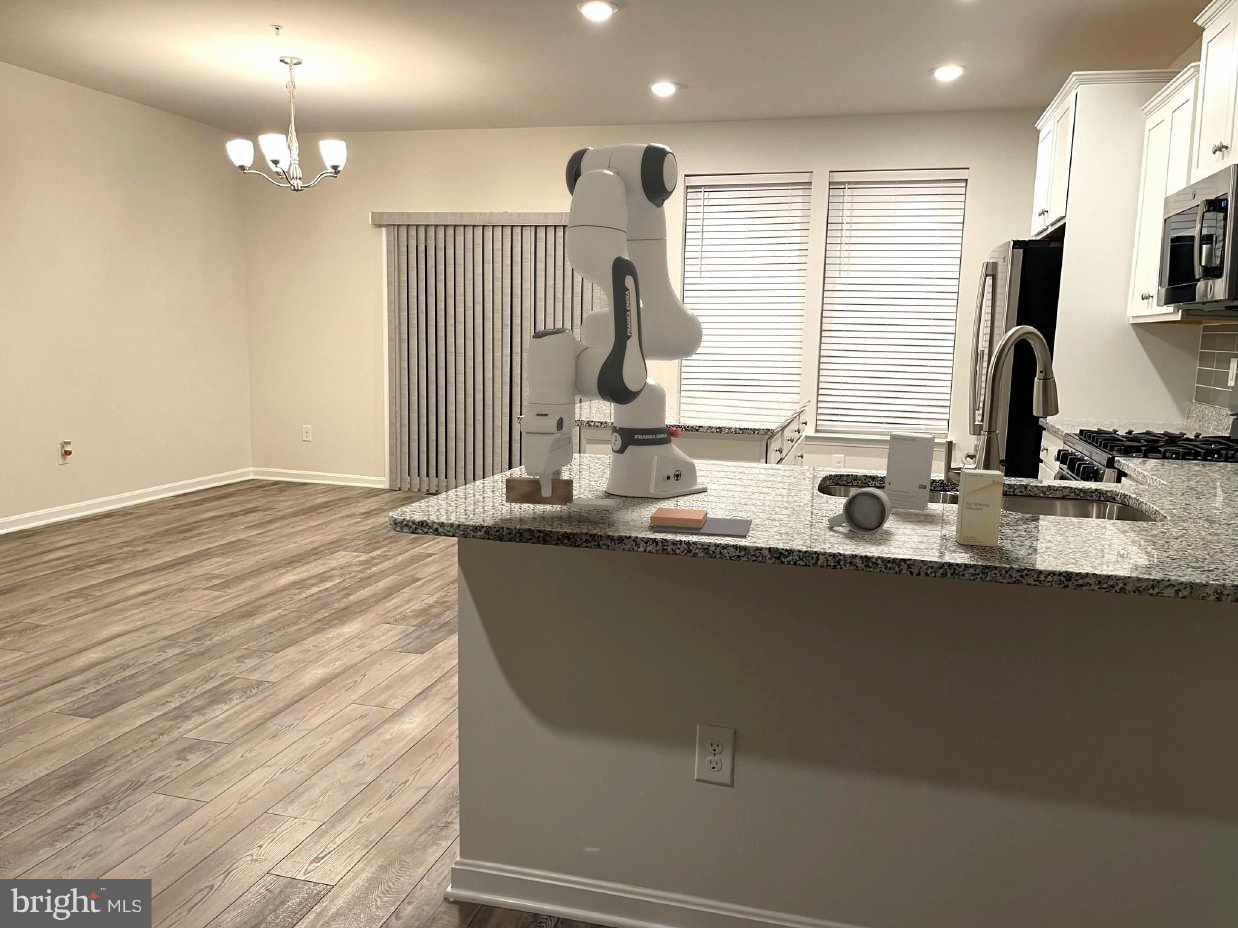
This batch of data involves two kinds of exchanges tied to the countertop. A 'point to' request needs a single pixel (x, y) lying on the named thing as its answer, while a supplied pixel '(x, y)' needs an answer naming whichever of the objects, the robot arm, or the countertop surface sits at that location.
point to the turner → (562, 495)
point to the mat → (714, 528)
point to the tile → (678, 518)
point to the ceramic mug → (864, 511)
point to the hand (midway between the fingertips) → (550, 494)
